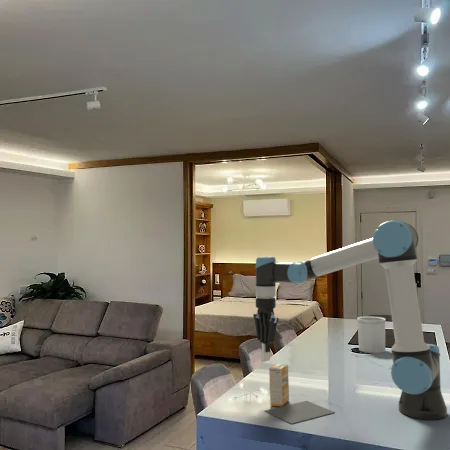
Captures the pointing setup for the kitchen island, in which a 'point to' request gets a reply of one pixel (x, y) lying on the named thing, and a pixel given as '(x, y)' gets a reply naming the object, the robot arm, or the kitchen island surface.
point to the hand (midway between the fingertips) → (265, 360)
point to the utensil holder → (371, 334)
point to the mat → (299, 412)
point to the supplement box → (279, 384)
